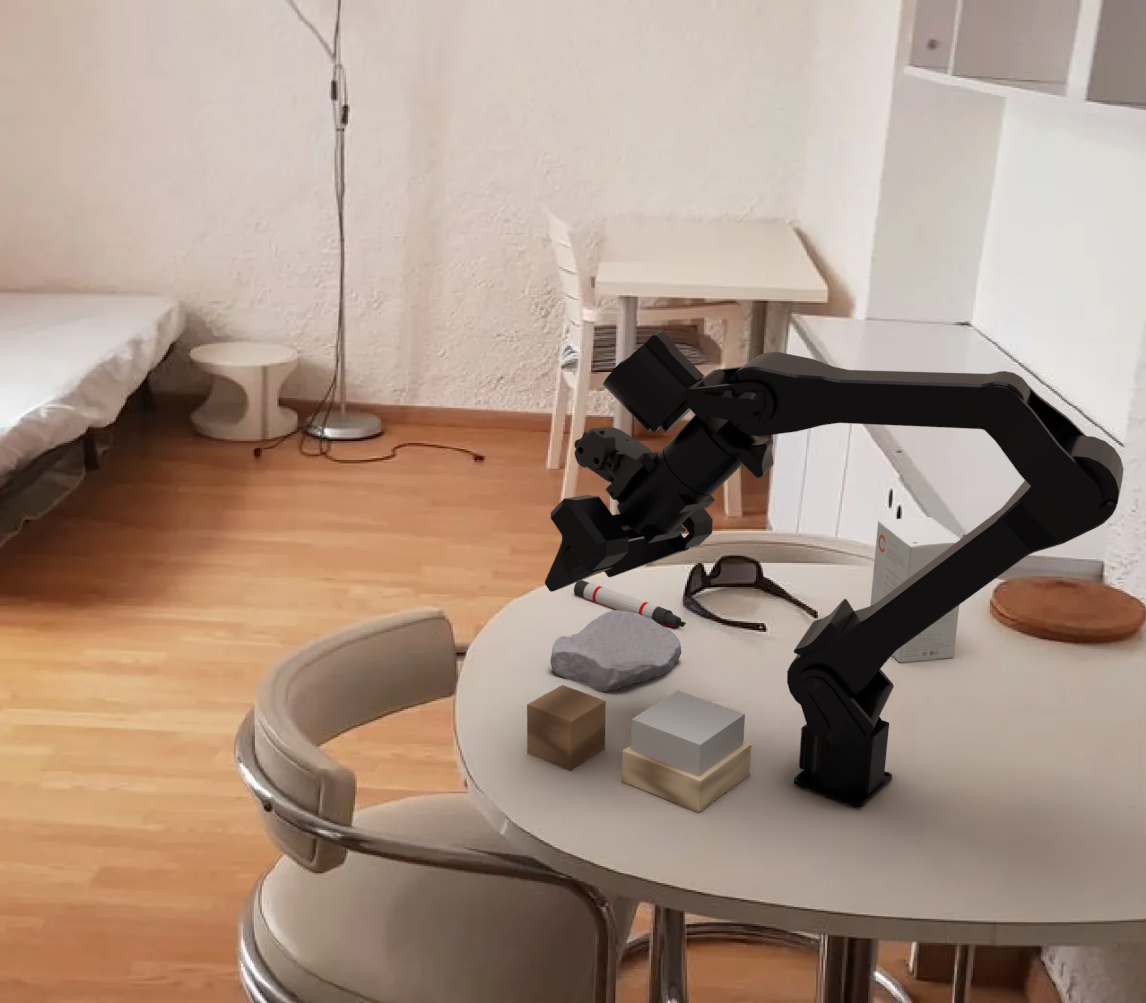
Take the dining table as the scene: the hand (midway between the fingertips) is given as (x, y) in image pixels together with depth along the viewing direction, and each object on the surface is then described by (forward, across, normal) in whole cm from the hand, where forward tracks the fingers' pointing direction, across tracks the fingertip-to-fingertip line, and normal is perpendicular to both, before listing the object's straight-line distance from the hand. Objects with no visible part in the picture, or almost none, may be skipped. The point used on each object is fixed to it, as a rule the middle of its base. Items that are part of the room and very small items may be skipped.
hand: (578, 580), depth 126 cm
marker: (+15, -27, -1) cm, 31 cm away
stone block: (+12, -15, +5) cm, 20 cm away
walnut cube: (+10, +2, +11) cm, 16 cm away
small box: (-5, -38, +19) cm, 43 cm away
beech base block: (+3, 0, +20) cm, 20 cm away
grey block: (+1, 0, +18) cm, 18 cm away
